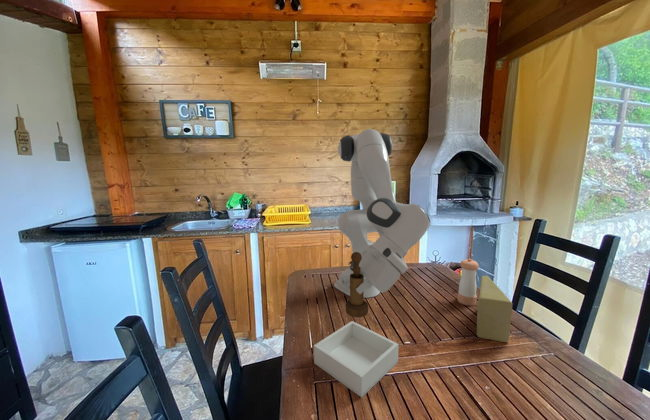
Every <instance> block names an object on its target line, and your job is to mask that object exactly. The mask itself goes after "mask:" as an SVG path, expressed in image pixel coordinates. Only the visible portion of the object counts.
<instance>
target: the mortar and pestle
mask: <svg viewBox="0 0 650 420" xmlns="http://www.w3.org/2000/svg"><path fill="white" fill-rule="evenodd" d="M350 259H351V261H353V263H354V267H353V274H351V275H350V296H349V299H348V300H347V301H346V303H345V312H346V314H347V315H348V316H349V317H353V318H363V317H365V316H366V315H368V314H369V304H368V302H367V301H366V300H365V298H364V291H363V292H362V293H361V294H359V293H358V292H357V291H356V289H355V288H356V287H357V285H358V284H359V285H360V284H362V283H363V282H364V276H363V275H362V274H360V269H361V268H360V267H359V263H360V261H361V259H362V256H361V254H360V253H359V252H354V253H353V252H352V253H351V255H350Z"/></svg>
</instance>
